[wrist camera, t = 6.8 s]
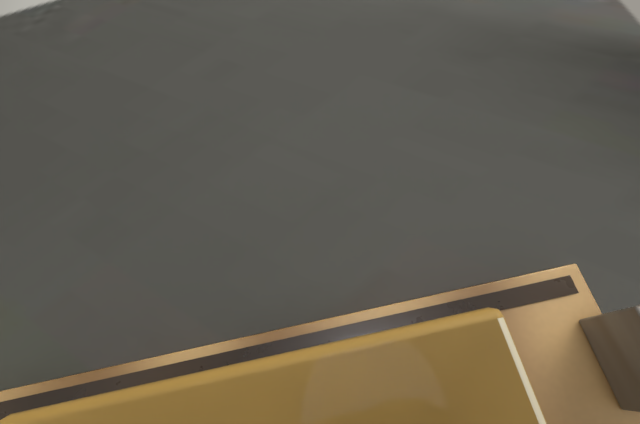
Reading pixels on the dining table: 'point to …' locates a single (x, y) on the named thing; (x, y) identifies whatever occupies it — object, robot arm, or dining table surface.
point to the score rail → (506, 295)
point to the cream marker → (338, 384)
